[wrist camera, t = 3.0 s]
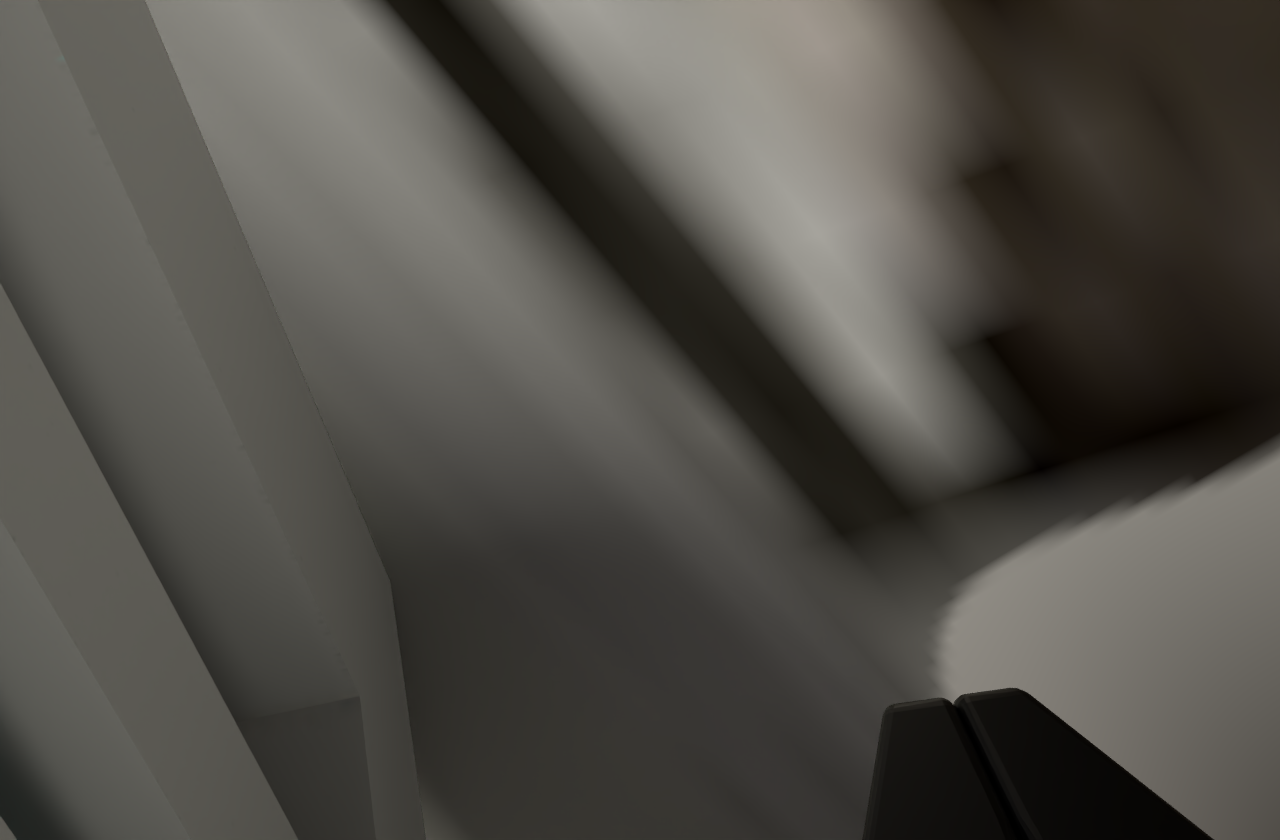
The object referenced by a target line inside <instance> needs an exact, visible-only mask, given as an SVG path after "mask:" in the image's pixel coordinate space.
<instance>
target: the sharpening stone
mask: <svg viewBox="0 0 1280 840" xmlns="http://www.w3.org/2000/svg"><path fill="white" fill-rule="evenodd" d="M0 840H426V837H425V830H424V822H423V815H422V808H421V800H420V793H419V786H418V779H417V771H416V764H415V757H414V749H413V742H412V735H411V728H410V720H409V713H408V706H407V698H406V691H405V684H404V677H403V669H402V662H401V655H400V647H399V640H398V633H397V626H396V618H395V611H394V604H393V596H392V589H391V582H390V580H389V577H388V575H387V573H386V570H385V568H384V566H383V563H382V561H381V559H380V556H379V554H378V551H377V549H376V547H375V544H374V542H373V540H372V537H371V535H370V532H369V530H368V528H367V525H366V523H365V521H364V518H363V516H362V514H361V511H360V509H359V506H358V504H357V502H356V499H355V497H354V495H353V492H352V490H351V487H350V485H349V483H348V480H347V478H346V476H345V473H344V471H343V469H342V466H341V464H340V461H339V459H338V457H337V454H336V452H335V450H334V447H333V445H332V442H331V440H330V438H329V435H328V433H327V431H326V428H325V426H324V424H323V421H322V419H321V416H320V414H319V412H318V409H317V407H316V405H315V402H314V400H313V397H312V395H311V393H310V390H309V388H308V386H307V383H306V381H305V379H304V376H303V374H302V371H301V369H300V367H299V364H298V362H297V360H296V357H295V355H294V352H293V350H292V348H291V345H290V343H289V341H288V338H287V336H286V334H285V331H284V329H283V326H282V324H281V322H280V319H279V317H278V315H277V312H276V310H275V307H274V305H273V303H272V300H271V298H270V296H269V293H268V291H267V289H266V286H265V284H264V281H263V279H262V277H261V274H260V272H259V270H258V267H257V265H256V262H255V260H254V258H253V255H252V253H251V251H250V248H249V246H248V244H247V241H246V239H245V236H244V234H243V232H242V229H241V227H240V225H239V222H238V220H237V217H236V215H235V213H234V210H233V208H232V206H231V203H230V201H229V199H228V196H227V194H226V191H225V189H224V187H223V184H222V182H221V180H220V177H219V175H218V172H217V170H216V168H215V165H214V163H213V161H212V158H211V156H210V154H209V151H208V149H207V146H206V144H205V142H204V139H203V137H202V135H201V132H200V130H199V127H198V125H197V123H196V120H195V118H194V116H193V113H192V111H191V109H190V106H189V104H188V101H187V99H186V97H185V94H184V92H183V90H182V87H181V85H180V82H179V80H178V78H177V75H176V73H175V71H174V68H173V66H172V64H171V61H170V59H169V56H168V54H167V52H166V49H165V47H164V45H163V42H162V40H161V38H160V35H159V33H158V30H157V28H156V26H155V23H154V21H153V19H152V16H151V14H150V11H149V9H148V7H147V4H146V2H145V0H0Z"/></svg>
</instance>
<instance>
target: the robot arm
mask: <svg viewBox="0 0 1280 840" xmlns="http://www.w3.org/2000/svg"><path fill="white" fill-rule="evenodd" d="M863 840H1214V839H1213V838H1211V837H1210V836H1209V835H1208V834H1206V833H1205V832H1204V831H1202V830H1201V829H1200V828H1199V827H1197V826H1196V825H1195V824H1193V823H1192V822H1191V821H1190V820H1188V819H1187V818H1186V817H1184V816H1183V815H1182V814H1181V813H1180V812H1178V811H1177V810H1176V809H1174V808H1173V807H1172V806H1171V805H1169V804H1168V803H1167V802H1166V801H1164V800H1163V799H1162V798H1160V797H1159V796H1158V795H1157V794H1155V793H1154V792H1153V791H1152V790H1150V789H1149V788H1148V787H1147V786H1145V785H1144V784H1143V783H1141V782H1140V781H1139V780H1138V779H1137V778H1135V777H1134V776H1133V775H1131V774H1130V773H1129V772H1128V771H1126V770H1125V769H1124V768H1123V767H1121V766H1120V765H1119V764H1117V763H1116V762H1115V761H1114V760H1112V759H1111V758H1110V757H1109V756H1107V755H1106V754H1105V753H1103V752H1102V751H1101V750H1100V749H1098V748H1097V747H1096V746H1095V745H1093V744H1092V743H1091V742H1090V741H1088V740H1087V739H1086V738H1084V737H1083V736H1082V735H1081V734H1079V733H1078V732H1077V731H1076V730H1074V729H1073V728H1072V727H1070V726H1069V725H1068V724H1066V723H1065V722H1064V721H1063V720H1062V719H1060V718H1059V717H1058V716H1056V715H1055V714H1054V713H1053V712H1051V711H1050V710H1049V709H1048V708H1046V707H1045V706H1044V705H1043V704H1041V703H1040V702H1039V701H1037V700H1036V699H1035V698H1034V697H1032V696H1031V695H1030V694H1028V693H1027V692H1025V691H1023V690H1020V689H1017V688H1006V689H1000V690H992V691H984V692H977V693H970V694H964V695H961V696H960V697H958V698H957V699H956V700H955V702H954V704H952V703H951V702H950V701H949V700H946V699H944V698H934V699H927V700H920V701H913V702H906V703H899V704H893V705H890V706H889V707H887V708H886V710H885V712H884V714H883V718H882V724H881V730H880V736H879V742H878V748H877V754H876V760H875V766H874V773H873V779H872V785H871V791H870V797H869V803H868V809H867V816H866V822H865V828H864V834H863Z"/></svg>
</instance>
